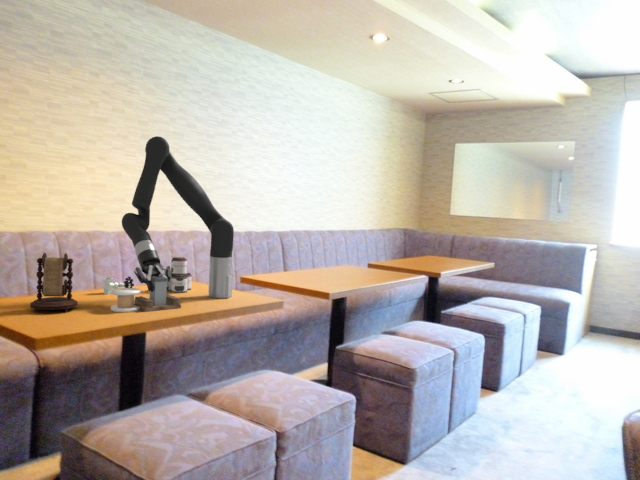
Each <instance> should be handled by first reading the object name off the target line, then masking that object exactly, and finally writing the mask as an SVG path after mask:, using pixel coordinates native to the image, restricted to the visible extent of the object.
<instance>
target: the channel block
mask: <svg viewBox="0 0 640 480" xmlns="http://www.w3.org/2000/svg"><path fill="white" fill-rule="evenodd" d="M134 305H137V306H139V307H140V310H139V311H142V312H144V313H147V312H155V311H163V310H174V309H182V305H181V298H180V297H178V296H174V295H172V294H168V293H167V294H166V305H157V306H154V305H153V300H150V299H149V298H147V297H144V296H140V295H139V296H134Z"/></svg>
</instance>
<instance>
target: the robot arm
mask: <svg viewBox="0 0 640 480" xmlns="http://www.w3.org/2000/svg"><path fill="white" fill-rule="evenodd" d="M144 150H145V151H144V152H145V159H144V160H145V161H144V164H143V168H142V171H141V174H140V177H139V179H138V182H137V186H136V187H135V190H134V191H135V192H134V194H133V198H132V201H131V205H132V207H134V209H136V210H137V214H136V213H133V212H126V213H125V214H124V215H123V216H122V217H121V226H122V229H123V230H124V232H125V234H126V235H127V236H128V238H129V239H130V240H131V242H132V245H133V248H134V251H135V255H136V257H137V261H138V263H139V267H138V266H136V267H135V269H134V271H133V272H134V275H135V277H136V278H137V279H138V281H139V283H141V284H145V285H146V287H147V290H148V291H149V293H150V292H153V291H154V286H153V283H152V281H150V280H151V277H159V276H162V277H165V278H168V280H167V292H169V291H168V289H169V287H170V285H169V283H168V282H169V281H170V279H171V277H172V276H171V265H167V266H164V265H163V264H162V262H161V259H160V257H159V254H158V250H157V248H156V246H155V245H154V242H153V240H152V238H151V235H150V233H149V232H148V231H147V230H148V228H149V227H150V223H151V222H150V219H151V217H150V216H151V214H150V213H151V204H152V201H153V197H154V193H155V190H156V185H157V181H158V177H159V174H160V171H161V172H162V173H163V174H164V175H165V177H166V178H167V180H168V181H169V184H171V185H172V187H173V189H174V190H175V191H176V193H177V194H178V195H179V197H180V198H181V199H182V200H183V201H184V203H185V204H187V206H188V207H189V208H190V209H191V210H192V211H193V212H195V214H196V215H197V216H199V218H200V219H201V220H202V221H203V223H204V225H205V226H206V227H207V229H208V231H209V232H210V251H209V271H208V272H209V273H208V274H209V275H208V297H209V298H214V299H229V298H230V297H232V295H233V274H232V261H233V260H232V259H233V250H234V231H235V230H234V226H233V225H232V222H230V221H229V220H227V219H226V218H225V217H224V216H222V214H221V213H220V212H219V211H218V210H217V209H216V208H215V206H214V205H213V203H212V202H211V200H210V198H209V197H208V196H209V195H207V193H206V191H205V189H204V188H203V187H202V186H201V184H200V183H199V182H198V181H197V179H196V178H195V177H194V176H193V175H192V174H191V173H190V172H188V171H187V170H186V169H185V168H184V167H182V166H181V165H180V164H179V163H178V161H177V160H176V159H175V157H174V155H173V154H172V152H171V151H170V145H169V143H168V141H167V140H166V138H164V137H162V136H153V137H151V138H149V139H148V140H147V142H146V144H145V149H144ZM165 273H166V275H165Z"/></svg>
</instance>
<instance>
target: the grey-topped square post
mask: <svg viewBox="0 0 640 480" xmlns="http://www.w3.org/2000/svg"><path fill="white" fill-rule="evenodd" d="M167 280H168V278H165V277H162V276H159V277H151V280H150V281H152V283H153V286H154V291H153V292H150V291H149V297H148V299H150V300H153V305H154V306H157V305H166V294H168V293H167V292H168V291H167Z"/></svg>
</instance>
